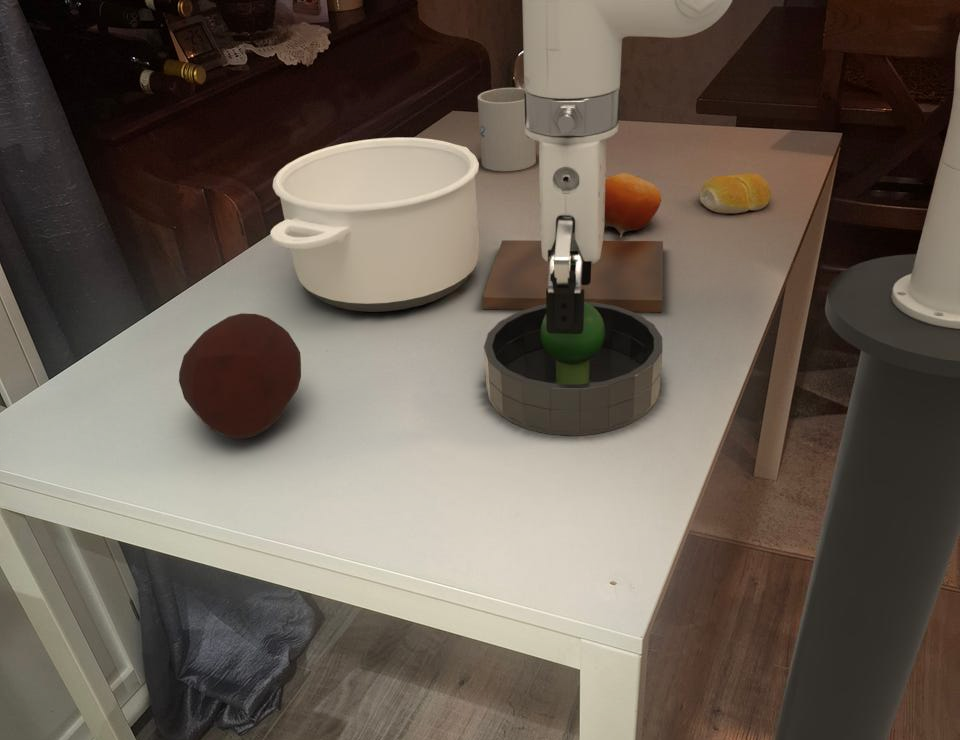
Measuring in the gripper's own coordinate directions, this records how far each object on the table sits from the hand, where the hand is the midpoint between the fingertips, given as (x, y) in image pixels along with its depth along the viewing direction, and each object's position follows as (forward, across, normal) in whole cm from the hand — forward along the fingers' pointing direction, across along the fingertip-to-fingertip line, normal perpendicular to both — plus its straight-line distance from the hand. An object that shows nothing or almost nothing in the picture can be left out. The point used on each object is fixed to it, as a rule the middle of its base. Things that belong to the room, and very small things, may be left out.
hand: (569, 306), depth 82 cm
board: (+9, +24, +1) cm, 26 cm away
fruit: (+9, +40, -4) cm, 41 cm away
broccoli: (+8, 0, 0) cm, 8 cm away
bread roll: (+8, +48, -18) cm, 52 cm away
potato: (+9, -8, +30) cm, 32 cm away
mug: (+9, +68, +15) cm, 70 cm away
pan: (+9, 0, 0) cm, 9 cm away
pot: (+9, +23, +24) cm, 34 cm away
